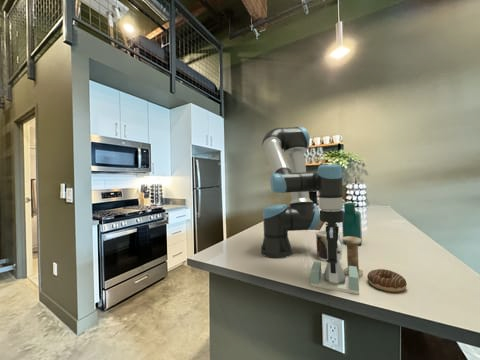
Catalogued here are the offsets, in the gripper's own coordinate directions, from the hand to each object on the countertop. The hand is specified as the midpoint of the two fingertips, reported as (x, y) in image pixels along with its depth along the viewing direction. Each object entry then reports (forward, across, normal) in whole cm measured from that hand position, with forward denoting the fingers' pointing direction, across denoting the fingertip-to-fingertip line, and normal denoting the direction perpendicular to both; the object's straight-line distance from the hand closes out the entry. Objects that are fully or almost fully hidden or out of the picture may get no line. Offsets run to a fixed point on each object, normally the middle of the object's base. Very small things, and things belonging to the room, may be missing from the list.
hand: (334, 276), depth 72 cm
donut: (+2, +4, -15) cm, 16 cm away
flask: (0, 0, 0) cm, 0 cm away
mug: (+2, +23, +3) cm, 24 cm away
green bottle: (+2, +49, -7) cm, 50 cm away
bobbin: (+2, +10, -6) cm, 12 cm away
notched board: (+2, 0, 0) cm, 2 cm away
